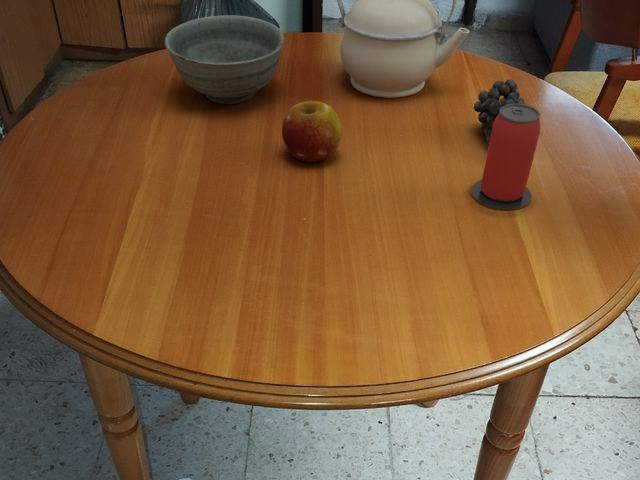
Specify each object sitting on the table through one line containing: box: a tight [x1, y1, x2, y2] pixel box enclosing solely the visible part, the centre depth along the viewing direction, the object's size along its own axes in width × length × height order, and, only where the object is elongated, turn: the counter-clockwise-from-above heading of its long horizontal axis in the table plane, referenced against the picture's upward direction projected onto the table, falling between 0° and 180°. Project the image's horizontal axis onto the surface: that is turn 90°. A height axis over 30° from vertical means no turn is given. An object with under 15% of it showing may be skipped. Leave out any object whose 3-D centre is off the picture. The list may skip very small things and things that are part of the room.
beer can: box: [481, 103, 541, 202], centre depth 97 cm, size 7×7×12 cm
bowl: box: [164, 14, 285, 105], centre depth 121 cm, size 21×21×10 cm
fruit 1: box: [281, 100, 343, 163], centre depth 107 cm, size 10×9×8 cm
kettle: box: [336, 0, 470, 99], centre depth 120 cm, size 25×18×25 cm
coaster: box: [470, 179, 532, 211], centre depth 102 cm, size 9×9×1 cm
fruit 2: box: [473, 79, 526, 143], centre depth 111 cm, size 9×8×15 cm
